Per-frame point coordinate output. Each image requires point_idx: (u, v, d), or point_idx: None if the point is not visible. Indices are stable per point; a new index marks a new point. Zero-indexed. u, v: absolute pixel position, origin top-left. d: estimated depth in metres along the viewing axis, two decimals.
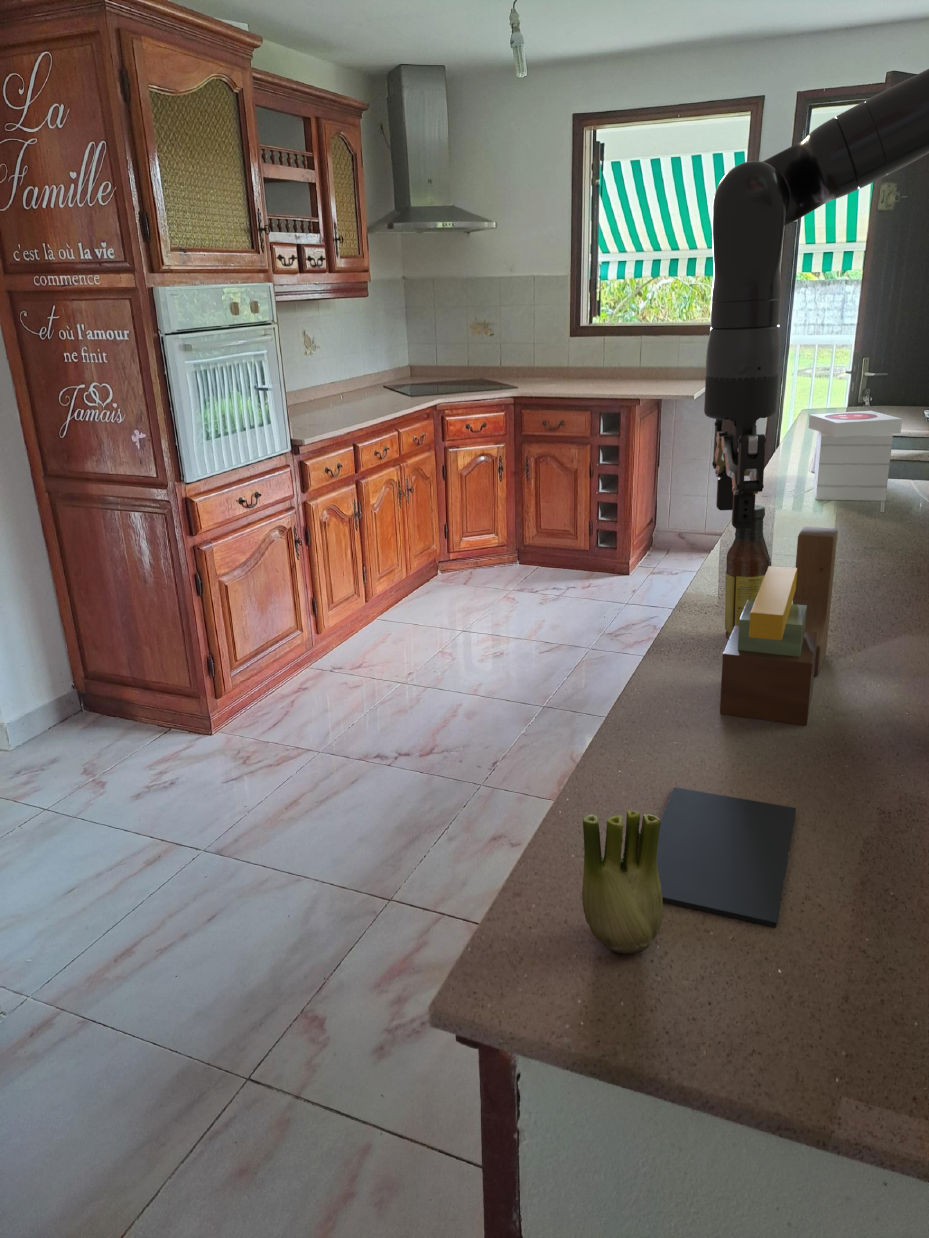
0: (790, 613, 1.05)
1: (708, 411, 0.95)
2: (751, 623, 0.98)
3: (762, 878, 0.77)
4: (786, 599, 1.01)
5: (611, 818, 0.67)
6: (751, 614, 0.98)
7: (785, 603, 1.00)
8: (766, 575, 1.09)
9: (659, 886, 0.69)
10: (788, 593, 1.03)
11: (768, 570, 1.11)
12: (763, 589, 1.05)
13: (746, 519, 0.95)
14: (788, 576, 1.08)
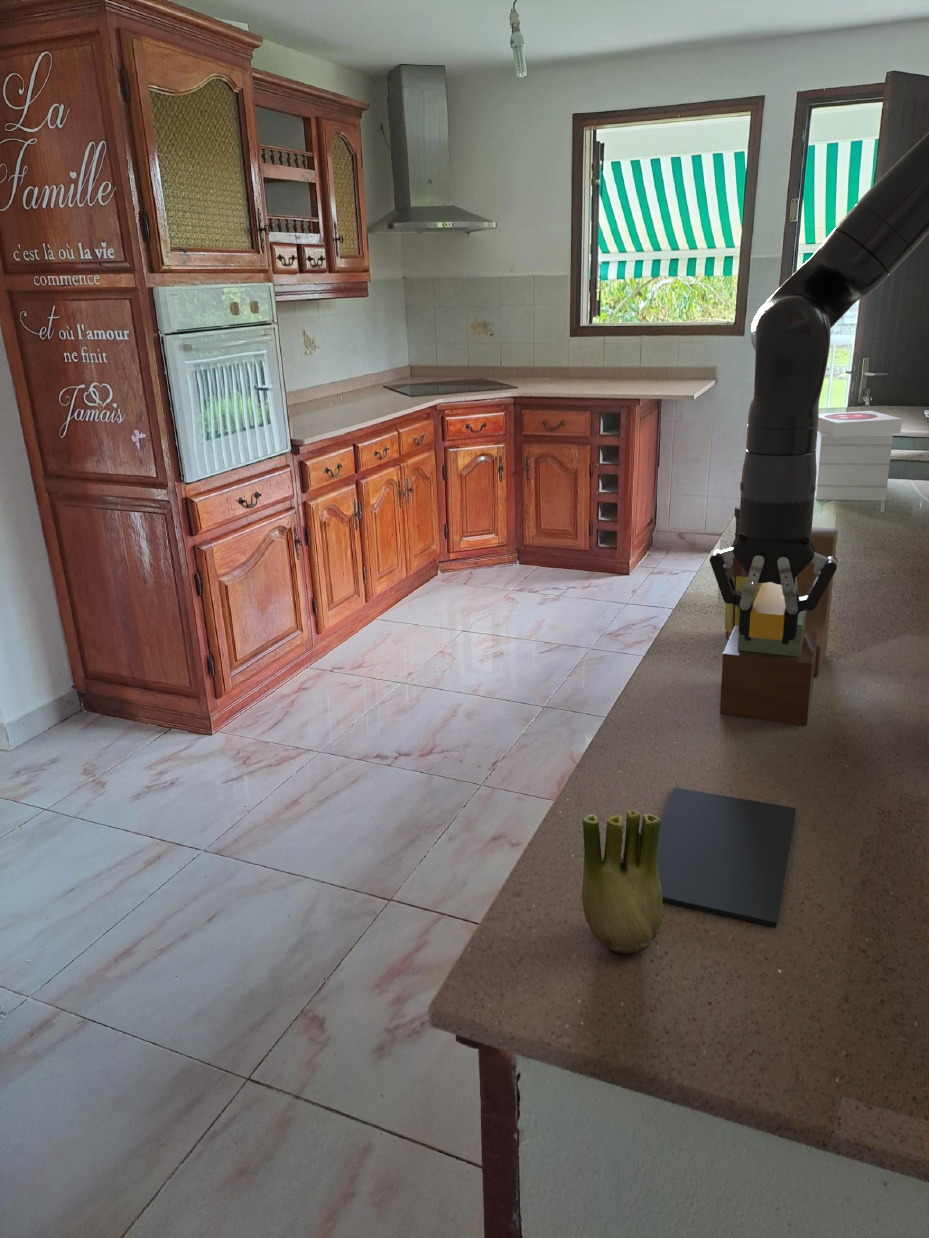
0: None
1: (782, 536, 0.92)
2: (751, 623, 0.98)
3: (762, 878, 0.77)
4: None
5: (611, 818, 0.67)
6: (751, 614, 0.98)
7: None
8: None
9: (659, 886, 0.69)
10: None
11: None
12: (763, 589, 1.05)
13: (795, 632, 0.99)
14: None
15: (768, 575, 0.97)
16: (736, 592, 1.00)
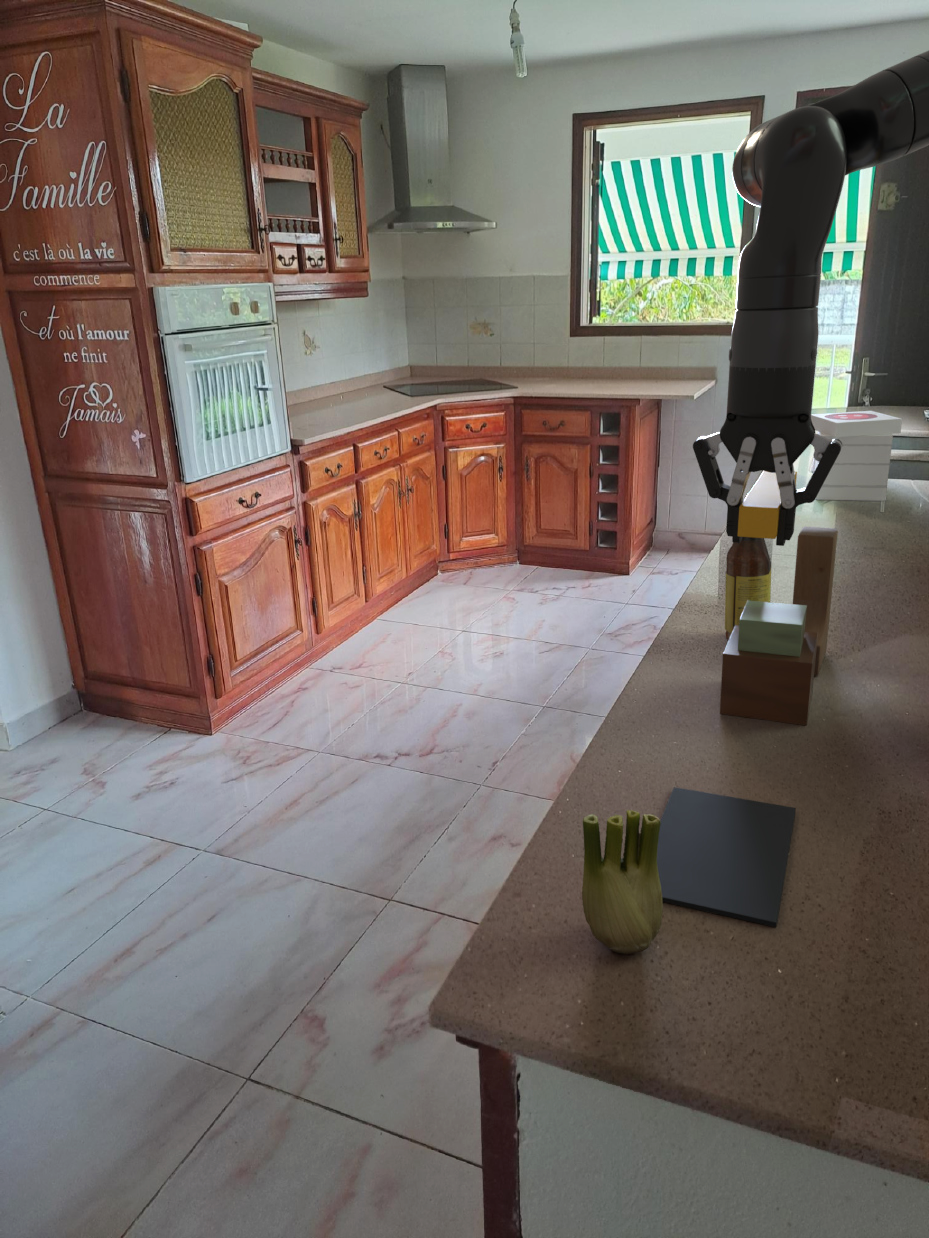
0: (790, 613, 1.05)
1: (776, 409, 0.78)
2: (740, 519, 0.84)
3: (762, 878, 0.77)
4: None
5: (611, 818, 0.67)
6: (740, 508, 0.84)
7: None
8: (761, 477, 0.95)
9: (659, 886, 0.69)
10: None
11: (763, 473, 0.97)
12: (756, 488, 0.91)
13: None
14: None
15: (760, 462, 0.83)
16: (723, 486, 0.86)
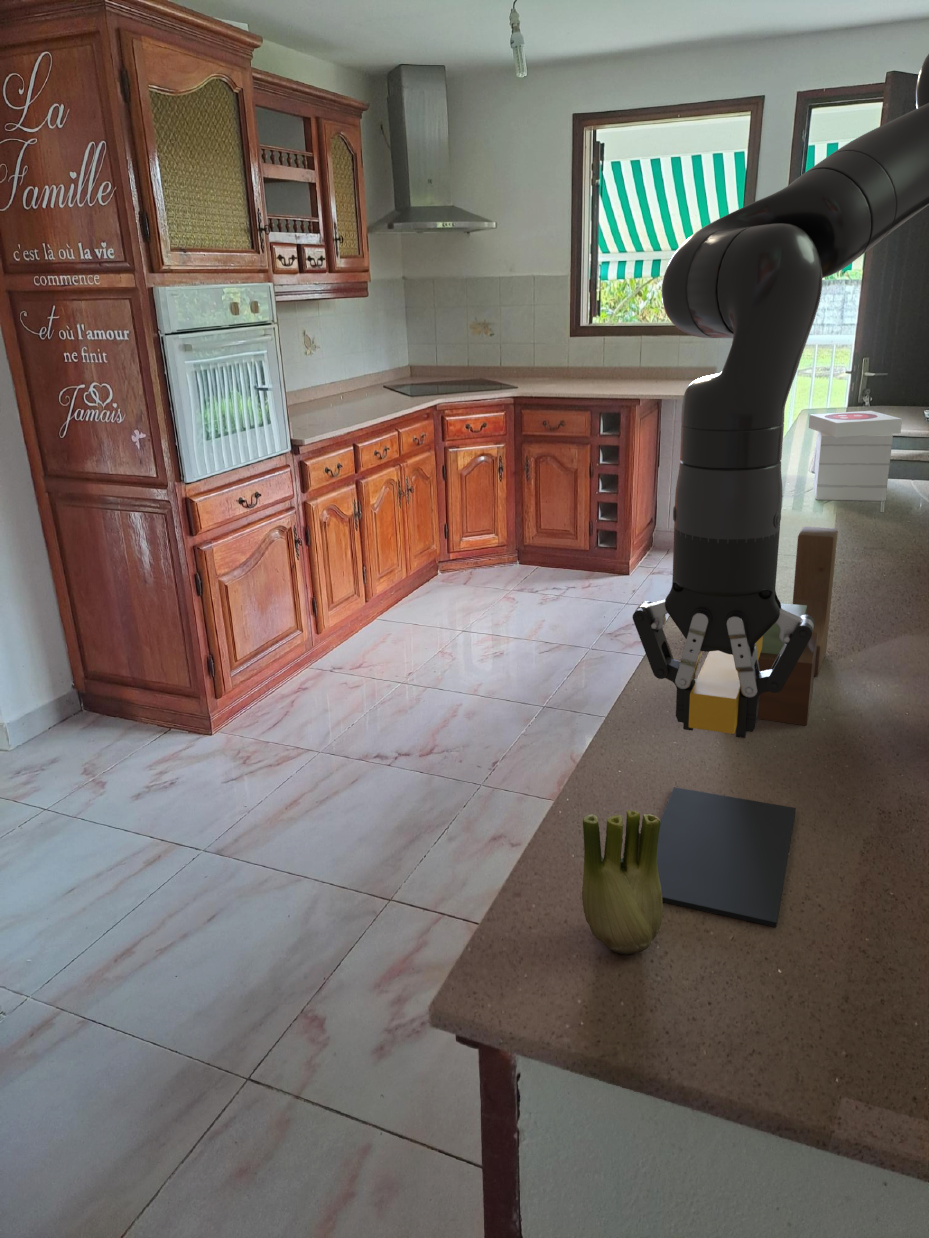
0: None
1: (731, 588, 0.63)
2: (691, 708, 0.68)
3: (762, 878, 0.77)
4: None
5: (611, 818, 0.67)
6: (691, 696, 0.68)
7: None
8: None
9: (659, 886, 0.69)
10: None
11: None
12: (713, 653, 0.75)
13: (755, 720, 0.69)
14: None
15: (715, 641, 0.67)
16: (671, 663, 0.70)
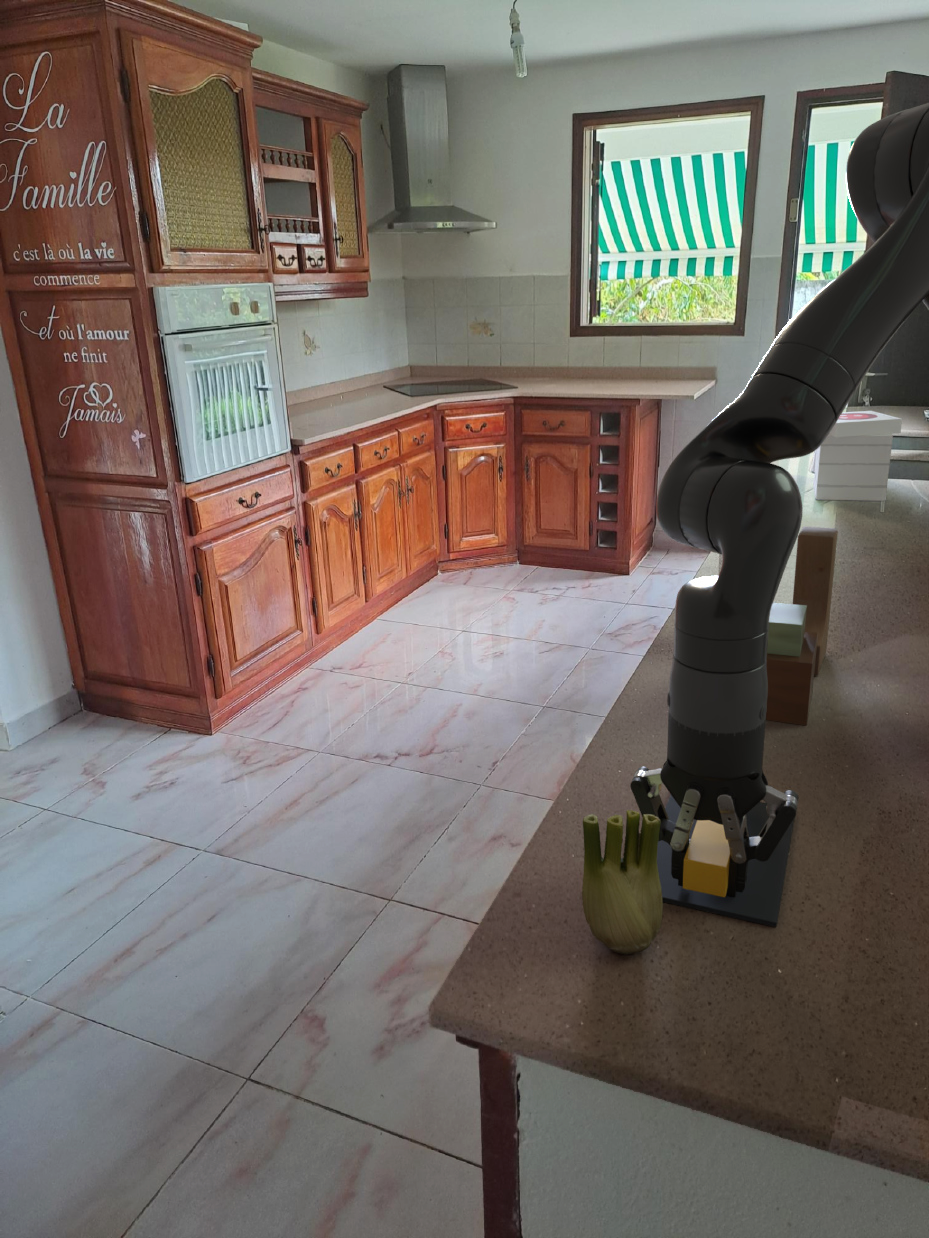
0: (790, 613, 1.05)
1: (721, 774, 0.68)
2: (685, 872, 0.74)
3: (762, 878, 0.77)
4: None
5: (611, 818, 0.67)
6: (685, 861, 0.73)
7: None
8: None
9: (659, 886, 0.69)
10: None
11: None
12: None
13: None
14: None
15: (706, 812, 0.73)
16: (666, 825, 0.76)
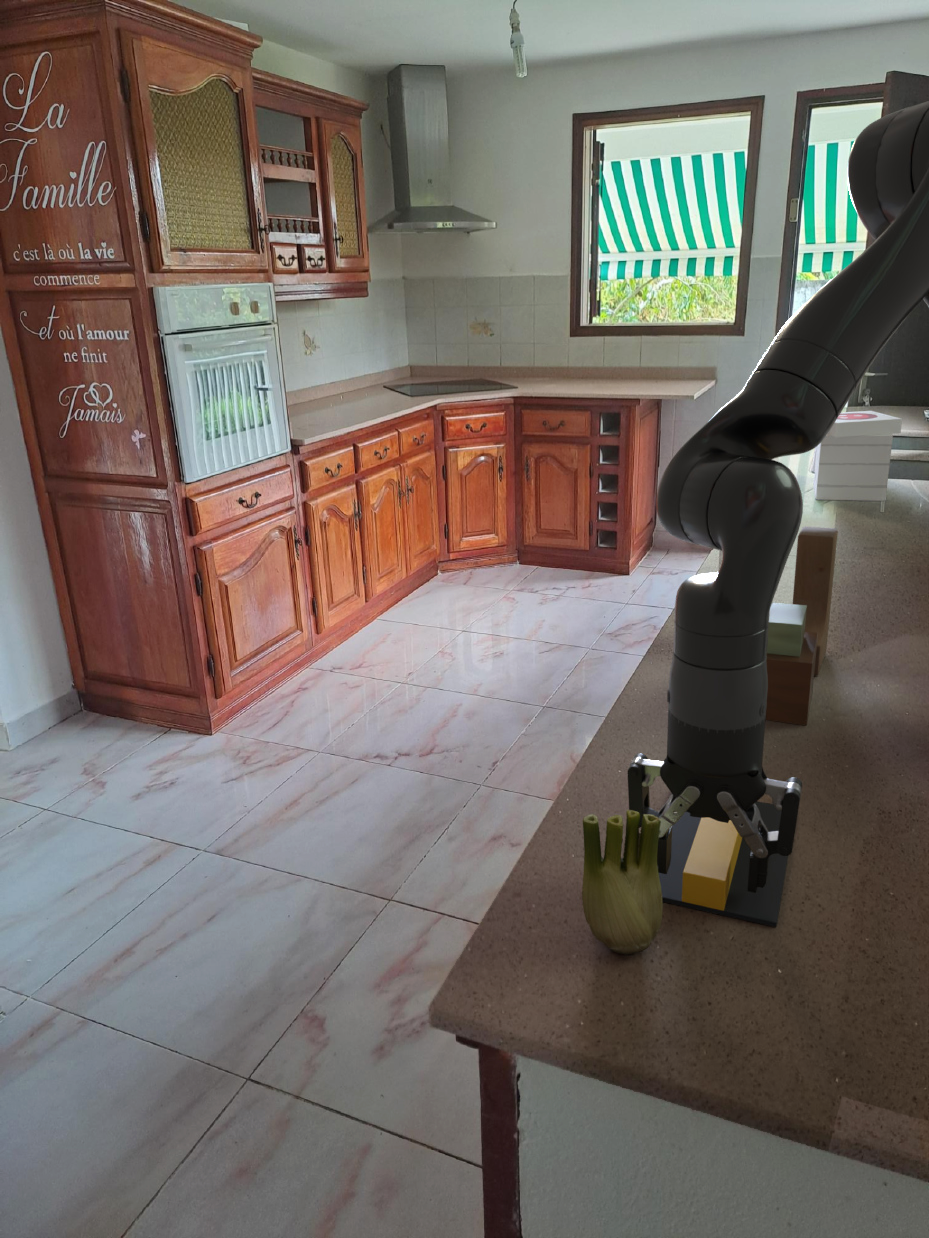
0: (790, 613, 1.05)
1: (721, 771, 0.68)
2: (684, 885, 0.74)
3: None
4: (733, 844, 0.77)
5: (611, 818, 0.67)
6: (684, 874, 0.74)
7: (730, 853, 0.76)
8: None
9: (659, 886, 0.69)
10: (736, 830, 0.79)
11: None
12: (705, 819, 0.81)
13: None
14: None
15: (706, 809, 0.72)
16: (646, 812, 0.76)
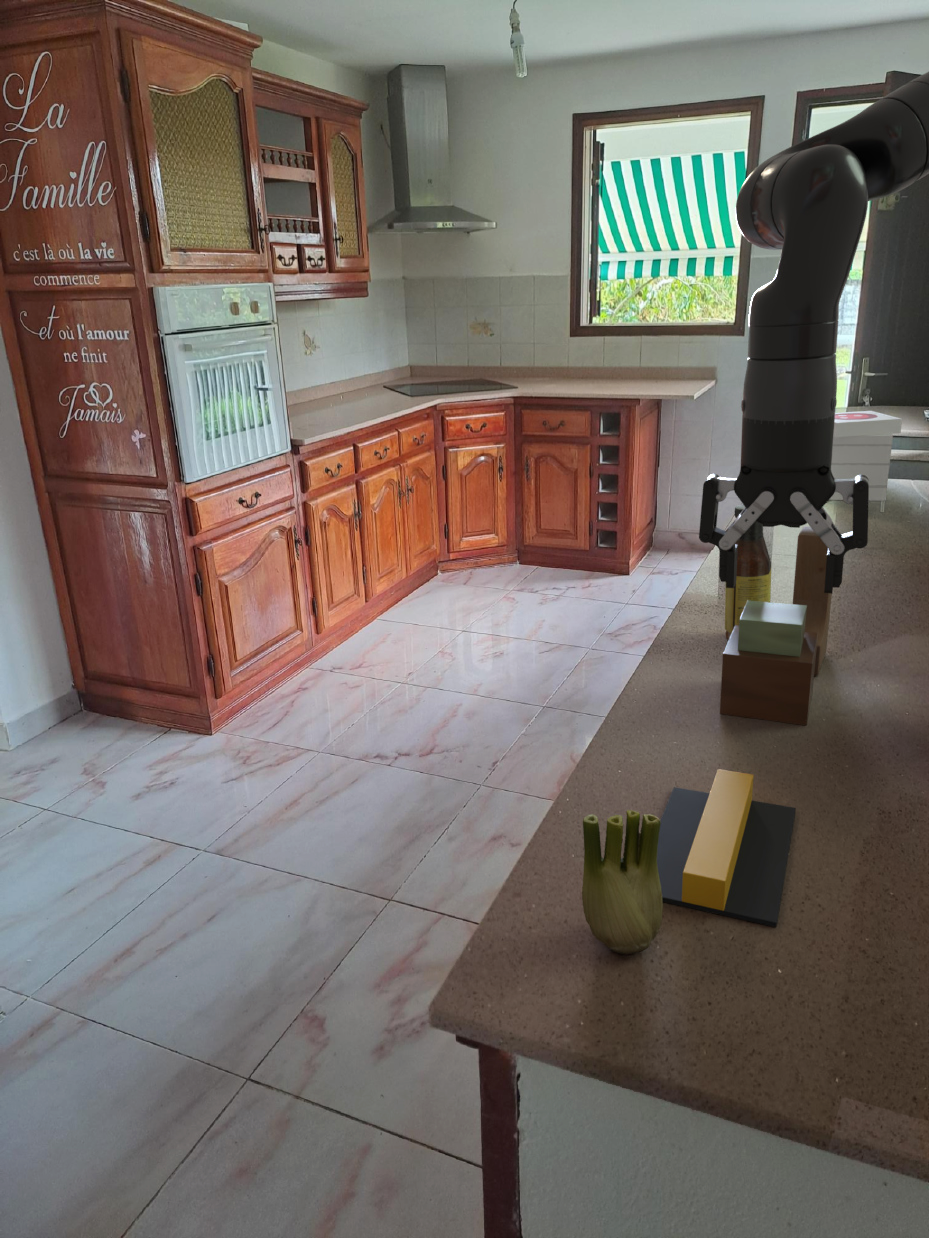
0: (790, 613, 1.05)
1: (796, 464, 0.74)
2: (684, 885, 0.74)
3: (762, 878, 0.77)
4: (733, 844, 0.77)
5: (611, 818, 0.67)
6: (684, 874, 0.74)
7: (730, 853, 0.76)
8: (712, 789, 0.85)
9: (659, 886, 0.69)
10: (736, 830, 0.79)
11: (716, 778, 0.87)
12: (705, 819, 0.81)
13: None
14: (740, 793, 0.84)
15: (778, 516, 0.78)
16: (714, 529, 0.82)
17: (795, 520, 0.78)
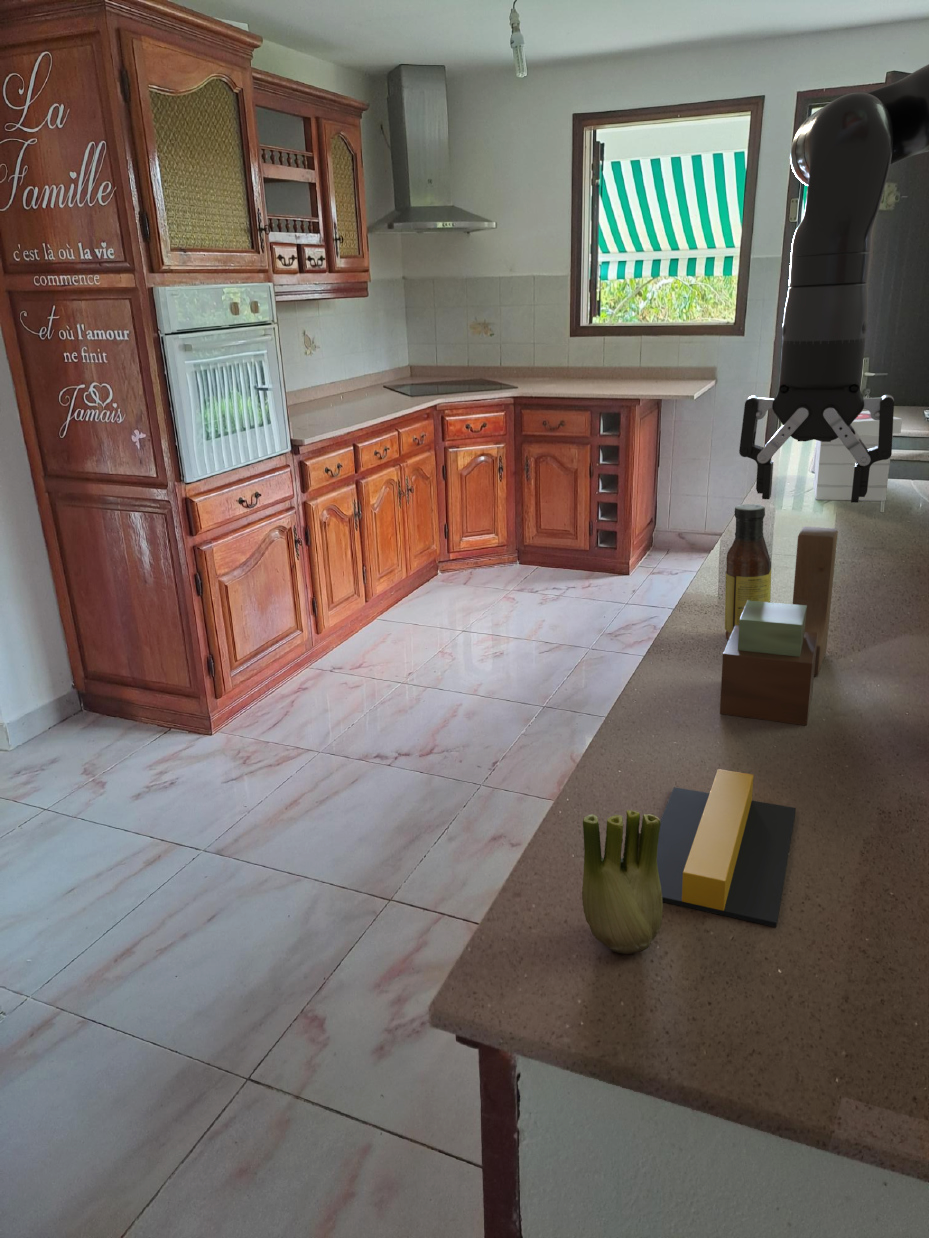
0: (790, 613, 1.05)
1: (830, 380, 0.83)
2: (684, 885, 0.74)
3: (762, 878, 0.77)
4: (733, 844, 0.77)
5: (611, 818, 0.67)
6: (684, 874, 0.74)
7: (730, 853, 0.76)
8: (712, 789, 0.85)
9: (659, 886, 0.69)
10: (736, 830, 0.79)
11: (716, 778, 0.87)
12: (705, 819, 0.81)
13: None
14: (740, 793, 0.84)
15: (812, 431, 0.87)
16: (753, 445, 0.91)
17: (827, 435, 0.87)
